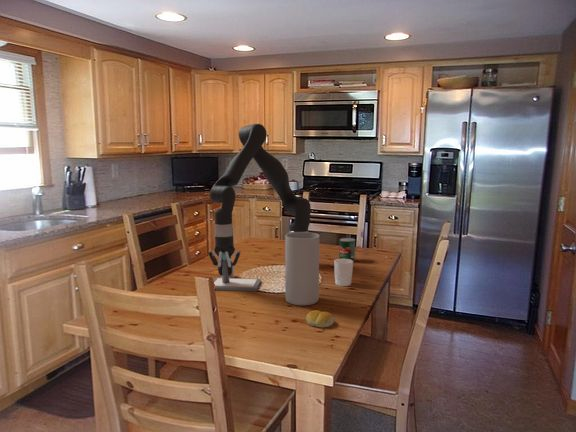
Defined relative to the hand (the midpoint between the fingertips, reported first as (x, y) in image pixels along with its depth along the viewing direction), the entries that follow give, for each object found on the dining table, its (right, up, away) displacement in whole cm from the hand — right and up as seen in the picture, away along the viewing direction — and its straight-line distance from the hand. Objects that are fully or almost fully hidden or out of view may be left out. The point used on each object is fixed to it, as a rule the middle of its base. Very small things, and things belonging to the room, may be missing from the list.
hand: (225, 274), depth 181 cm
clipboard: (+4, -4, +1) cm, 6 cm away
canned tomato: (+56, +2, +41) cm, 70 cm away
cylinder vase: (+31, -7, -17) cm, 36 cm away
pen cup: (-1, -3, +12) cm, 12 cm away
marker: (0, -3, 0) cm, 3 cm away
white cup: (+49, -4, +3) cm, 50 cm away
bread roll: (+37, -11, -38) cm, 54 cm away
